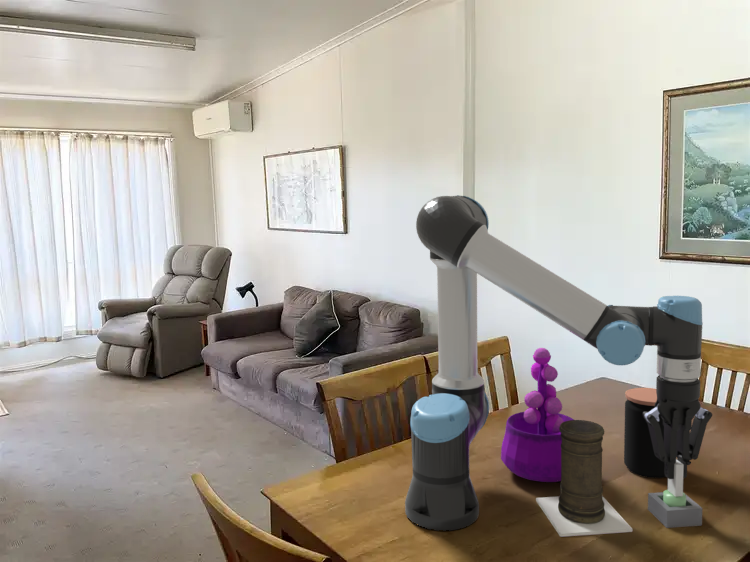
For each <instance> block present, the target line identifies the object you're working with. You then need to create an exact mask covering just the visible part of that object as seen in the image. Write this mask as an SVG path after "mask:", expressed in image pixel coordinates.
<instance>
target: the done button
mask: <svg viewBox="0 0 750 562" xmlns="http://www.w3.org/2000/svg"><path fill="white" fill-rule="evenodd" d="M684 493H685V492H683V496H679V497H675V496H674V495H673V494H672V493H670V492H669V491H668V489H665V490H663V501H664V502H665V503H666V504H667V505H668V506H669V507H678V506H686V495H687V494H686V493H685V494H686V495H685V494H684Z"/></svg>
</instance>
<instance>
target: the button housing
mask: <svg viewBox="0 0 750 562" xmlns="http://www.w3.org/2000/svg"><path fill="white" fill-rule="evenodd" d="M663 492H664V491H663ZM663 492H662V491H661V492H648V493H647V511H649V512H650V513H651V514H652V515H653V516H654V517H655V518H656V519H657V520H658V521H659V522H660V523H661V524H662V525H663V526H664V527H665V528H666V529H669V528H670V529H671V528H682V527H683V528H684V527H685V528H686V527H698V526H699V527H700V526H702V525H703V507H702V506H700V505H699V503H697V502H696V501H695V500H693V499H692V498H691V497H690V496H689V495H687V493H685V492H683V493H684V494H685V495H686V506H678V507H669V506H668V505H667V504H666V503H665V502H664V501H663Z"/></svg>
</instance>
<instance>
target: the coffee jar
mask: <svg viewBox="0 0 750 562" xmlns="http://www.w3.org/2000/svg"><path fill="white" fill-rule="evenodd" d="M624 392H625V394H624V395H625V399H626V400H625V403H624V434H623V435H624V439H623V440H624V442H623V443H624V445H623V447H624V448H623V462H624V463H623V464H624V465H625V466H626V468H627V470H628V471H629V472H631V473H633V474H634V475H637V476H640V477H644V478H650V479H662V478H667V477H666V476H665V474H664V468H665V462H663V461H661V460H660V459H659V458H657V457H656V456H655V454H654V449H653V445H652V441H651V436H650V432H649V427H648V423H647V421H646V420H645V418H644V417H643V412H645V411H647V412H649V411H651V410H652V409H654V408H655V407H654V405H655V403H656V401H657V394H656V388H653V387H652V388H651V387H635V388H630V389H627V390H626V391H624ZM658 417H659V421H658V423H659V425H660V428H661V433H662V437H663V442H664V425H663V419H662V418H661V416H660V415H658Z"/></svg>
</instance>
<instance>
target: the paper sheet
mask: <svg viewBox="0 0 750 562" xmlns="http://www.w3.org/2000/svg"><path fill="white" fill-rule="evenodd" d="M559 496H560V495H559ZM559 496H547V497H545V496H542V497H536V498H535V502H536V504H537V505H538V506H539V507H540V508H541V511H542V512H543V513H544V515H545V516H546V518H547V519H548V521H549V522H550V523H551V525H552V526H553V528H554V530H555V531H556V532H557V534H558V536H559V537H574V536H575V537H576V536H577V537H578V536H592V535H603V534H619V533H632V532H633V527H631V525H629V523H628V522H627V521H626V520H625V518H623V517H622V516H621V515H620V513H619V512H618V511H617V510H616V509H615V507H613V506H612V505H611V503H609V502H608V500H607V499H606V498H605V497H604V495H602V500H603V502H604V509H605V516H604V518H603V520H602V521H600V522H598V523H594V524H584V523H577V522H574V521H571V520H569V519H567V518H565V517H563V516H562V515H561V514H560V512H559V509H558V504H559Z"/></svg>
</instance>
